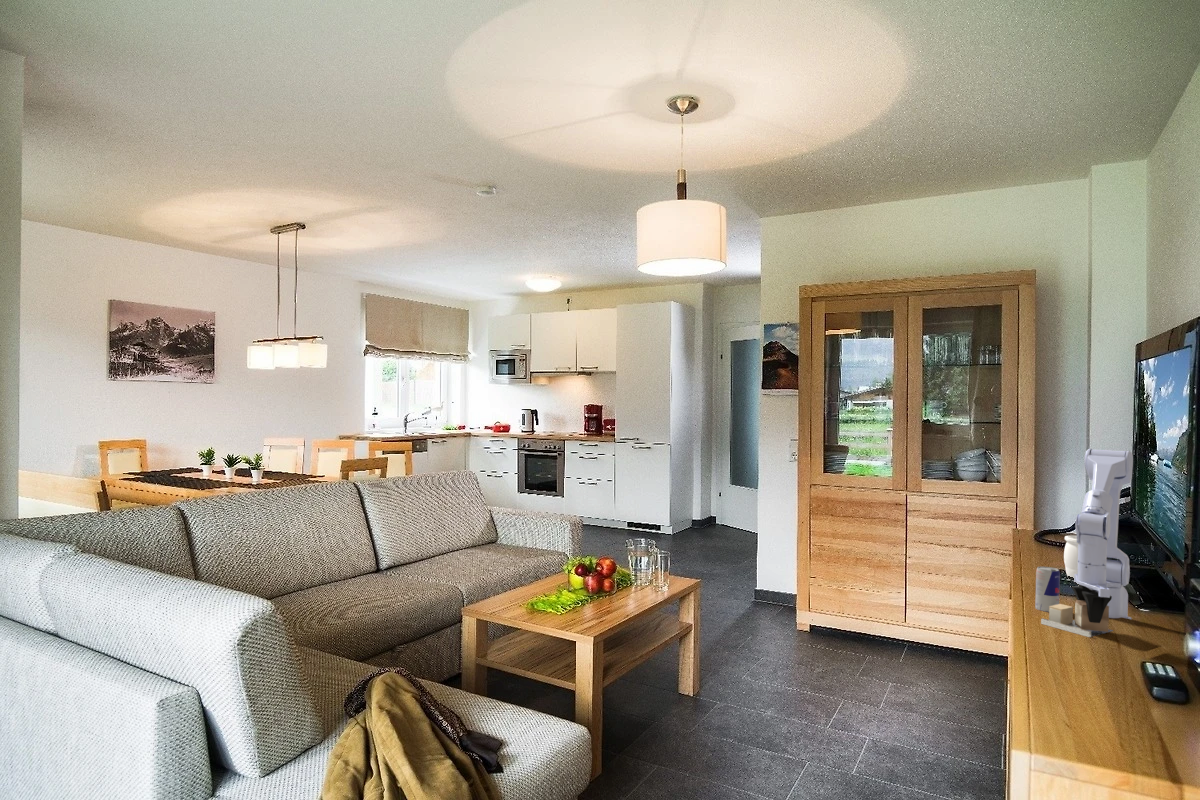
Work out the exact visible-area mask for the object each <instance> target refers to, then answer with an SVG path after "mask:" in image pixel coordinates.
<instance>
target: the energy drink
mask: <svg viewBox="0 0 1200 800" xmlns="http://www.w3.org/2000/svg"><path fill="white" fill-rule="evenodd" d="M1060 581H1061V572H1060V569H1059V568H1055V567H1051V566H1037V568H1036V571H1035V607H1034V608H1035V609H1036V610H1038V611H1041V612H1045V613H1049V606H1053V605H1057V604H1060V592H1061V591H1060V586H1061V585H1060V584H1061V582H1060Z"/></svg>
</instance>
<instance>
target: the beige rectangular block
mask: <svg viewBox="0 0 1200 800" xmlns="http://www.w3.org/2000/svg"><path fill="white" fill-rule="evenodd" d="M1073 612H1074V607H1073V606H1070V605H1066V604H1063V603H1059V604H1057V605H1053V606H1049V612H1048V620H1051V621H1054V622H1058V623H1062V624H1065V625H1066V624H1070V623H1073V620H1074V619H1073V617H1074V613H1073Z"/></svg>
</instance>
